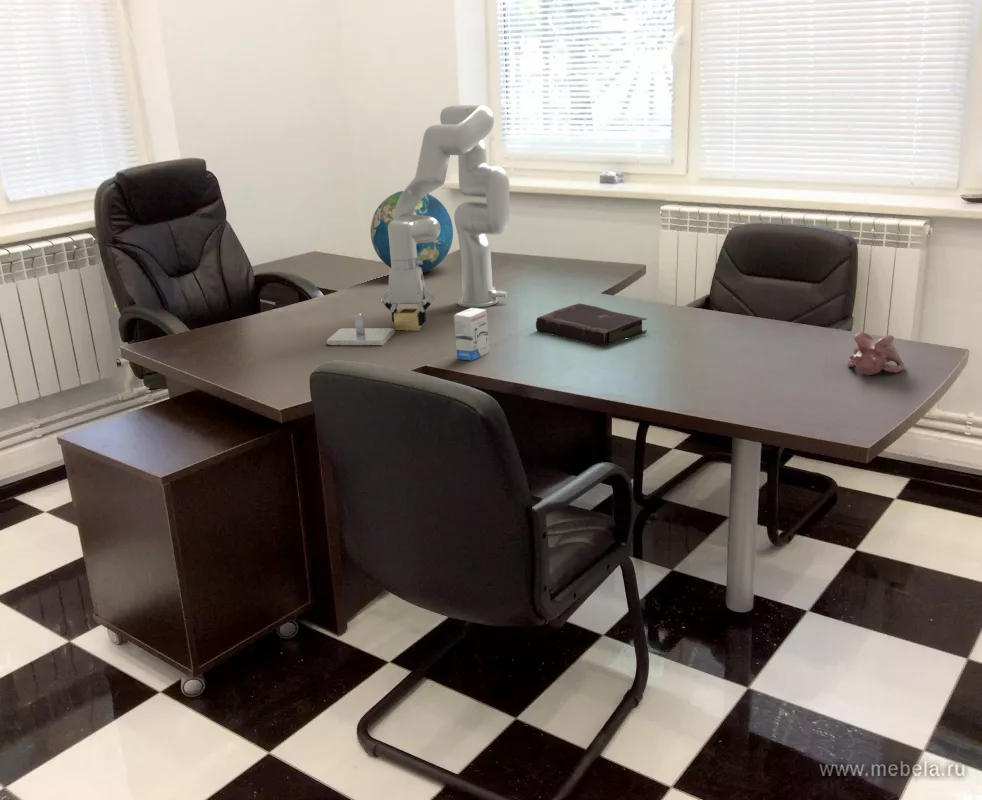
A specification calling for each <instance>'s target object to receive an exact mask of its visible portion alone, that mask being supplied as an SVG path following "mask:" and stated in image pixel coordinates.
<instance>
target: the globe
mask: <svg viewBox="0 0 982 800" xmlns="http://www.w3.org/2000/svg"><path fill="white" fill-rule="evenodd" d="M403 192H404V190H400V191H397V192H395V193H393V194H391V195H389V196H388V197H386V198H385V199H384V200H383V201H381V202H380V204H379V205H378V207H377V208H376V209H375V211H374V213H373V217H372V219H371V224H370V239H371V244H372V246H373V249H374V251H375V253H376V255H377V257H378V258H379V259H380V260H381V261H382V263H384V264H385V265H386V266H388V267H389V269H391V256H390V245H389V234H388V225H389V223H390V222H391V221H394V215H395V210H396V205H397V202H398V200H399V198H400V196H401V194H402V193H403ZM414 215H421V216H430V217H433V218H435V219H436V220H437V221H438V222H439V224H440V228H441V230H440V234H439V236H438V238H437V239H435V240H434V241H432V242H429V243H417V244H416V249H417V257H418V259H420V260H422V261H423V263H422V265H419V266H418V267H421V270H422V273H423V272H424V273H426V272H429V271H431V270H433V269H435V268H436V267H437V266H439V265H440V264H441V263H442V262H443V260H444V259H446V257H447V255H448V253H449V252H450V249H451V247H452V244H453V238H454V228H453V227H454V226H453V222H452V219H451V216H450V214H449V212H448V209H447V208H446V207H445V205H444V204H443V203H442V202H441V201H440V200H439V199H437V198H436V197H435V196H434V195H432V194H430V193H429V194H427V195H426V196H424V197H423V198H422V199H421V200H420V201H419V203H418V204H417V206H416V209H415V212H414Z"/></svg>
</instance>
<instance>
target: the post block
mask: <svg viewBox="0 0 982 800" xmlns="http://www.w3.org/2000/svg"><path fill="white" fill-rule="evenodd" d="M354 324H355V325H354V326H355V328H353V327H351V328H349V327H347V328H339V329H338V330H337V331H336V332H334V333H333V334H332V335H331V336H330V337H329V338H327V340H326V345H327V344H340V345H370V344H371V345H383V344H384V343H385V342H386V341H387V340H388V339H391V338H392V336H393V335H394V334H395V327H393V328H392V327H390V328H389V327H387V328H386V327H382V328H379V327H375V328H371V327H369V328H368V327H365V319H364V315H363V314H362V313H356V314H355V315H354ZM387 342H388V341H387ZM387 342H386V343H387ZM386 343H385V344H386ZM385 344H384V345H385ZM384 345H383V346H384Z"/></svg>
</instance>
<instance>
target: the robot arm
mask: <svg viewBox="0 0 982 800" xmlns="http://www.w3.org/2000/svg"><path fill="white" fill-rule="evenodd" d="M439 120H440V124H433V125H430V126H428V127H427V128H426V129H425V131H424V133H423V138H422V143H421V147H420V153H419V158H418V162H417V168H416V173H415V177H414V178H413V179H412V180H411V181H410V182H409V184H407V186H406V188H404V190H403V191H404V192H403V193H402V194H401V196H400V198H399V200H398V202H397V205H396V210H395V215H394V221H391V222H390V223H389V225H388V234H389V245H390V256H391V268H389V273H388V291H386V292H385V293H384V294H383V295H382V296H381V297H380V298H379V300H380V302H381V303H382V304H383V305H384V306H385V308H387V309H388V310H389V312H390V313H391V319H392V323H393V325H394V327H395V324H394V313H395V312H396V311H397V310H398V306H399V305H416V306H417V308H419V309H420V312H419V319H420V325H421V326H422V327H423V326H425V323H426V321H427V315H426V310H427V309H428V308H429V307H430V306H431V305H432V303H433V302H434V301H435V300H436V297H435V296H434V295H433V294H432V293H430V291H428V290H427V289H426V284H425V283H426V282H425V280H424V279H425V278H424V274H423V273H422V270H421V267H418V266H419V265H422V263H423V261H422V260H420V259H418V257H417V249H416V244H417V243H429V242H432V241H434V240H435V239H437V238H438V236H439V234H440V230H441V228H440V224H439V222H438V221H437V220H436V219H435V218H433V217H430V216H421V215H414V212H415V209H416V206H417V204H418V203H419V201H420V200H421V199H422V198H423V197H424V196H426V195H427V194H430V193H432V192H434V191H435V190H438V189H440V188H441V187H442V186H444V184H445V182H446V177H447V173H448V167H449V163H450V162H449V161H450V157H451V156H457V157H458V161H457V162H458V188H459V191H460V193H461V194H462V195H464V196H466V197H471V198H485V200H486V201H485V202H484V201H472V200H471V201H470V200H469V201H464V202H462V203H460V204H459V205H458V206H457V207H456V208H455V210H454V213H453V216H454V220H453V221H454V224H455V229H456V232H457V238H458V244H459V245H458V246H459V259H460V272H461V273H460V274H461V290H462V297H460V298H459V299H457V302H458V303H457V304H458V305H459V306H461V307H464V308H485V307H490V306H494V305H496V304H497V303H499V298H500V299H505V298H507V295H508V294H507V291H504V290H497V289H496V287H495V286H493V274H492V269H493V268H492V256H491V255H492V253H491V244H490V241H489V238H488V237H487V235H490V236H491V235H492V236H498V235H502V234H504V233H505V232H506V230H507V229H508V226H509V222H510V180H509V179H510V178H509V176H508V173H507V172H506V170H505V169H504V168H503V167H501V166H498V165H493V164H492V165H491V164H490V165H489V164H488V163H487V159H488V158H487V147H486V144H485V140H484V139H485V138H486V137H487V136H488V135H489V134H490V132H491V131H492V129H493V127H494V113H493V111H492V110H491V108H489V107H488V106H486V105H484V104H483V105H482V104H456V105H449V106H447V107H446V106H445V107H444V108H443V109H442V110H441V112H440V115H439ZM426 298H427V301H426V303H424V300H426ZM388 300H389V301H388Z"/></svg>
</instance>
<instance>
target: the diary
mask: <svg viewBox="0 0 982 800" xmlns="http://www.w3.org/2000/svg"><path fill="white" fill-rule="evenodd" d="M647 320H648V318H646V317H641V316H637V315H632V314H627V313H623V312H622V313H621V312H616V311H612V310H610V309H605V308H602V307H599V306H596V305H589V304H586V303H580V302H579V303H575V304H573V305H568V306H565V307H562V308H559V309H556V310H554V311H551V312H549V313H547V314H544V315H541V316H538V317H537V318H536V321H535V328H536V331H537V332H538V331H539V333H542V334H543V333H544V334H547V333H548V335H551V334H553V336H556V335H557V336H556V337H560V336H561V338H564V337H565V338H564V339H568V340H572V339H573V340H572V341H576V340H578V342H581V341H582V342H581V343H585V342H586V343H587V344H589V343H590V345H594V346H598V347H602V348H606V346H607V345H608V346H609V345H611V344H615V343H616V342H617V343H618V342H619V341H622V339H623V340H624V339H625V338H630V339H632V337H633V338H635V336H636V337H638V336H642V335H644V334H645V333H647V331H648V330H647V329H645V330H644V329H643V324H644V322H643V321H647ZM586 343H585V344H586Z"/></svg>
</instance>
